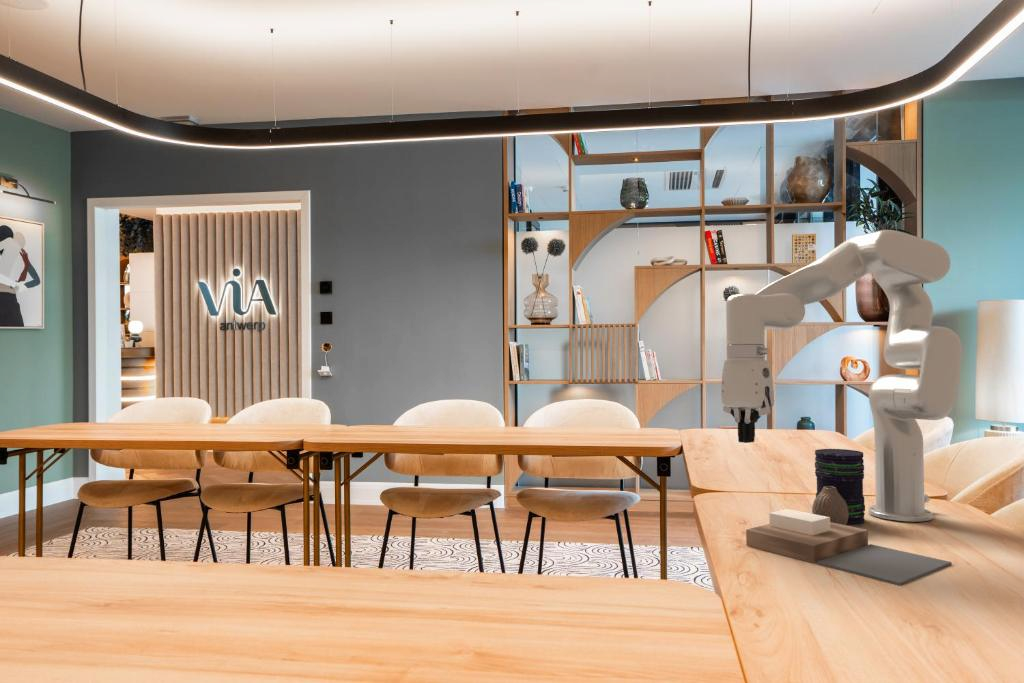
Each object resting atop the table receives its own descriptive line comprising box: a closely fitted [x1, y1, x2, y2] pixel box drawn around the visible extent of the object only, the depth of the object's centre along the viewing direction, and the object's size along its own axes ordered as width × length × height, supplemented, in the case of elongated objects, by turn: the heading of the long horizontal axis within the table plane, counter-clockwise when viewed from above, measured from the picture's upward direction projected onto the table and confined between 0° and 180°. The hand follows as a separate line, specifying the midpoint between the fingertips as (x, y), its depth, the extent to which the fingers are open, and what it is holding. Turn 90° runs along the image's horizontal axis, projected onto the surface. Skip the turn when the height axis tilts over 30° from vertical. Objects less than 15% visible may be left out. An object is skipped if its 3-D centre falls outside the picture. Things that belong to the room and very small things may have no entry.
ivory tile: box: [768, 508, 830, 535], centre depth 133 cm, size 6×9×2 cm, turn 35°
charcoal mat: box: [816, 543, 952, 586], centre depth 119 cm, size 18×14×1 cm
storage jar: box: [814, 448, 866, 527], centre depth 151 cm, size 10×10×15 cm
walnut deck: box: [745, 522, 869, 564], centre depth 131 cm, size 18×14×3 cm
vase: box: [811, 486, 849, 526], centre depth 143 cm, size 7×7×9 cm
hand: (746, 441), depth 142 cm, fingers closed
